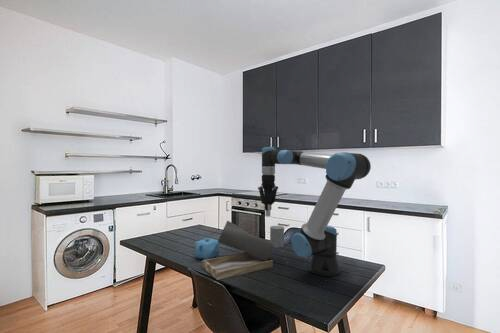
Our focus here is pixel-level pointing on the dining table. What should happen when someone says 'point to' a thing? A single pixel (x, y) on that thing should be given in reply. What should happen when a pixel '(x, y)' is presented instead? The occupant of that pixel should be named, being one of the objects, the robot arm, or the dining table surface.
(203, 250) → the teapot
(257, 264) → the tray
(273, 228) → the grey cylinder
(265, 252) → the vase
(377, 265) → the dining table surface
